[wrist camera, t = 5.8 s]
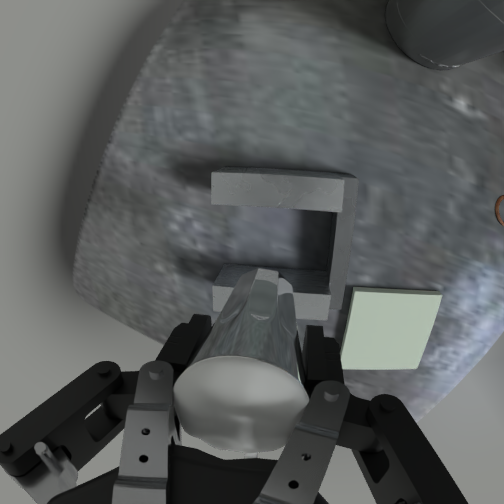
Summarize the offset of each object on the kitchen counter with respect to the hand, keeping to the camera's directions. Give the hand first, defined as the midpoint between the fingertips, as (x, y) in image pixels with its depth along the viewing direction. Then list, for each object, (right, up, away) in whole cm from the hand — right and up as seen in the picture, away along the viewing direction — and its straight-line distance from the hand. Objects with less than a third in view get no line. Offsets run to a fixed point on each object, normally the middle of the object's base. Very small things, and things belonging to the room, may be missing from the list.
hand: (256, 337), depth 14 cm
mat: (+15, -5, +18) cm, 24 cm away
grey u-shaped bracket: (+2, +6, +16) cm, 17 cm away
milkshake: (+1, +1, +3) cm, 3 cm away
